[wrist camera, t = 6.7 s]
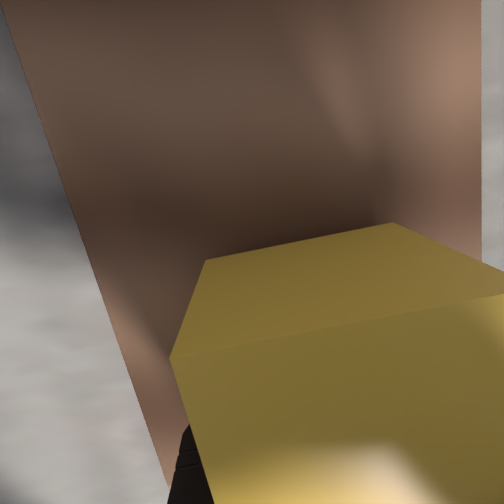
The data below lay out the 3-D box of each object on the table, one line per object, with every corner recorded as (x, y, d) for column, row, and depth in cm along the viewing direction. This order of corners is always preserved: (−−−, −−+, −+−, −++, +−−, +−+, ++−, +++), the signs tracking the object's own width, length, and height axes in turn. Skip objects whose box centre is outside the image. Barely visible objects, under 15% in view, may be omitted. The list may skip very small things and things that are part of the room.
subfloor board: (-27, -139, 8) (-64, -180, 7) (450, -252, 7) (480, -311, 6) (224, 613, 15) (223, 644, 14) (466, 573, 15) (482, 602, 14)
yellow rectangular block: (205, 259, 9) (169, 358, 5) (393, 222, 9) (537, 287, 4) (268, 508, 11) (283, 724, 7) (415, 482, 11) (522, 686, 7)
